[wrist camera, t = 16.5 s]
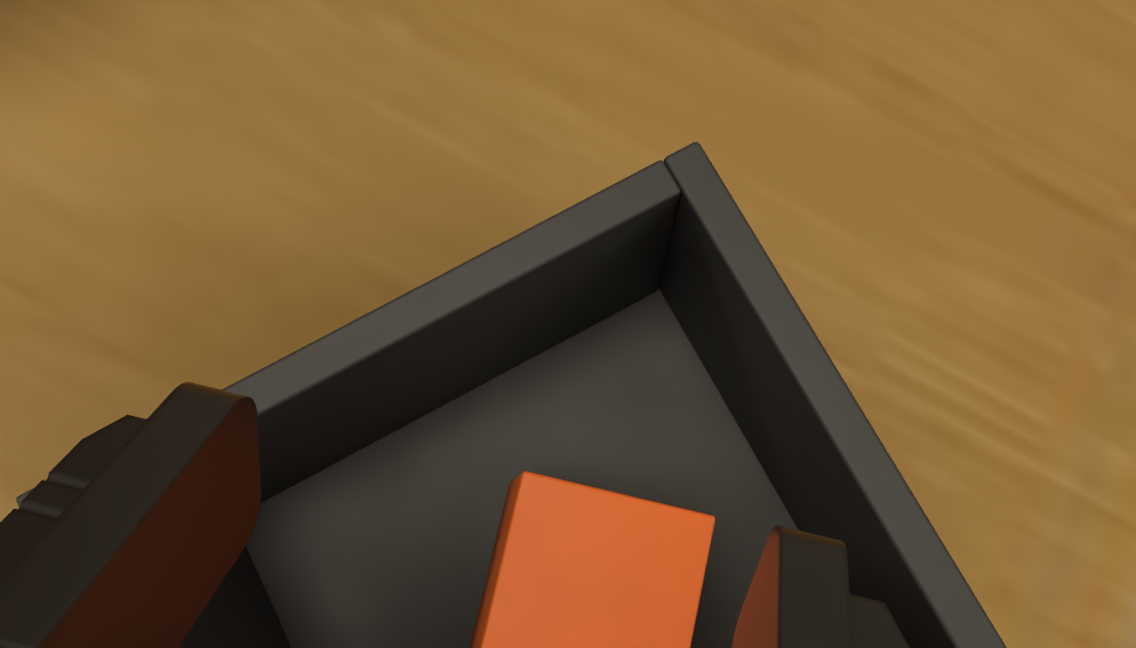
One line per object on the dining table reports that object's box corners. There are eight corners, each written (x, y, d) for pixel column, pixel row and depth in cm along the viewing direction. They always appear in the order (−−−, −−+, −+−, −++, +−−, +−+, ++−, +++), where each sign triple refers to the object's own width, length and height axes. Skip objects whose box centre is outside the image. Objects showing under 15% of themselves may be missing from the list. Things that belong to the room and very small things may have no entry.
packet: (578, 704, 24) (647, 870, 13) (462, 677, 24) (438, 824, 13) (620, 508, 25) (717, 516, 14) (509, 482, 25) (523, 470, 14)
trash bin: (405, 961, 24) (296, 1203, 15) (203, 505, 26) (13, 497, 18) (910, 671, 25) (1068, 747, 16) (669, 258, 27) (698, 138, 19)
